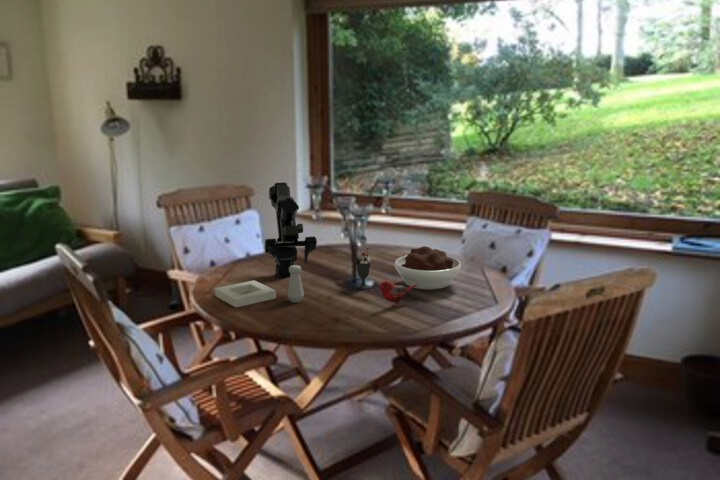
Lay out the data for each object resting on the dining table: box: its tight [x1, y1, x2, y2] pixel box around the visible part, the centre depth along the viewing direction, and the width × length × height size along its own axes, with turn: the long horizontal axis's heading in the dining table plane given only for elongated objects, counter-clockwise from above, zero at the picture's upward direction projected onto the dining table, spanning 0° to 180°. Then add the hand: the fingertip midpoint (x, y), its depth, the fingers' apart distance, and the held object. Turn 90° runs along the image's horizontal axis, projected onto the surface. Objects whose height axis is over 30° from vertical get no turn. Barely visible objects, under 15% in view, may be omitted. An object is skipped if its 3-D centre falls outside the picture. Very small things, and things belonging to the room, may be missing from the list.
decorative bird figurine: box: [379, 280, 418, 308], centre depth 225 cm, size 3×18×10 cm, turn 127°
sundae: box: [354, 248, 373, 290], centre depth 244 cm, size 7×7×15 cm
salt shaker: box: [287, 264, 305, 304], centre depth 229 cm, size 6×6×13 cm
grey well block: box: [214, 279, 277, 308], centre depth 235 cm, size 16×16×3 cm
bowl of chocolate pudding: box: [394, 245, 462, 291], centre depth 246 cm, size 25×25×15 cm
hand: (293, 264), depth 233 cm, fingers open, 9 cm apart
